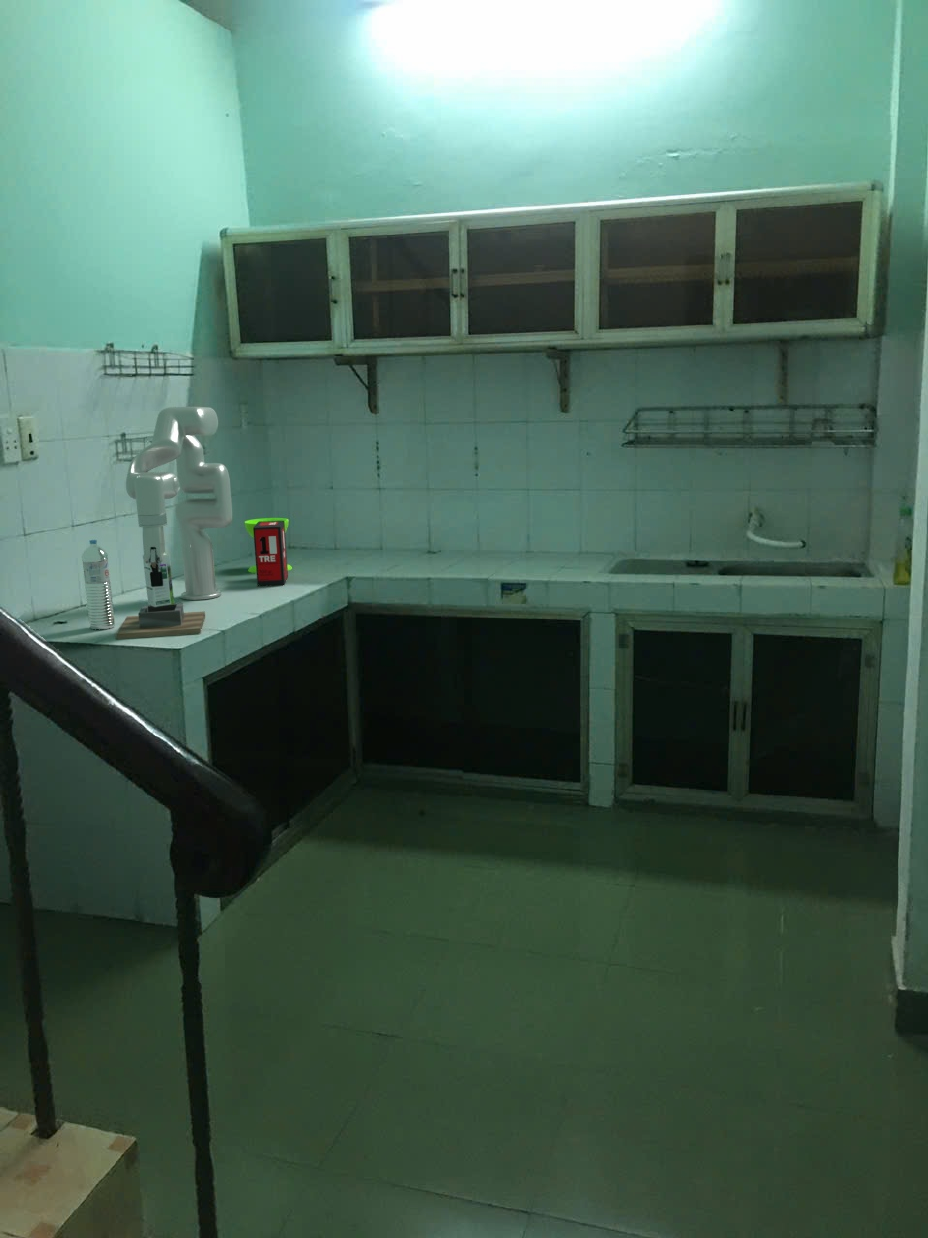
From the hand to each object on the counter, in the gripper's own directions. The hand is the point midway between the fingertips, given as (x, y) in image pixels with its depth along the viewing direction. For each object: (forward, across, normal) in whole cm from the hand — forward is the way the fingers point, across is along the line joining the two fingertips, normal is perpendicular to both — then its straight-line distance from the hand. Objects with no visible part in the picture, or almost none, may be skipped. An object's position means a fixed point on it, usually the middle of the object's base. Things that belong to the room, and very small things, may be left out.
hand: (158, 583), depth 281 cm
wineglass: (+13, -86, +30) cm, 92 cm away
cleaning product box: (+13, -61, +31) cm, 70 cm away
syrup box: (+6, 0, 0) cm, 6 cm away
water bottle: (+13, -5, -17) cm, 22 cm away
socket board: (+13, 0, 0) cm, 13 cm away
